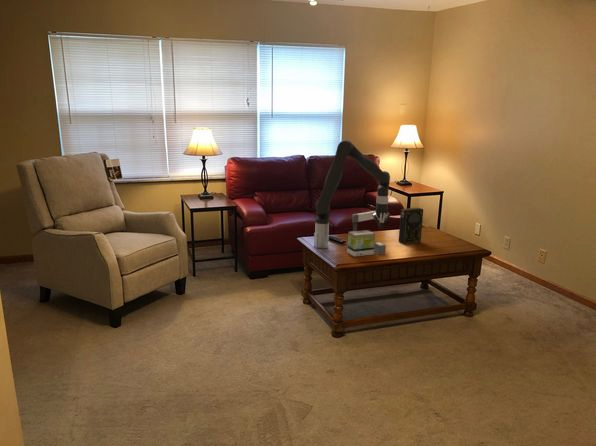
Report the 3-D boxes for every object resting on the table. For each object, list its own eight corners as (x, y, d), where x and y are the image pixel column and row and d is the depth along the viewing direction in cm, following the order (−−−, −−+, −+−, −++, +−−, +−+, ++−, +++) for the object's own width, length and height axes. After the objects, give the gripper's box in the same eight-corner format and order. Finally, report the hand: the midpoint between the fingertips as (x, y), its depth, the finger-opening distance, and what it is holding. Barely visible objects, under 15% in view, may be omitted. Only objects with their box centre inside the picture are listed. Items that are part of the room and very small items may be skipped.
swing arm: (377, 218, 322) (377, 211, 321) (355, 222, 310) (355, 215, 308) (372, 217, 325) (373, 210, 324) (351, 221, 313) (351, 214, 311)
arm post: (351, 250, 313) (352, 223, 309) (348, 247, 319) (349, 221, 314) (359, 249, 315) (361, 223, 310) (356, 247, 321) (357, 221, 316)
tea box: (354, 257, 299) (355, 235, 296) (346, 252, 308) (347, 231, 305) (374, 254, 305) (375, 233, 302) (366, 250, 314) (367, 229, 311)
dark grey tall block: (403, 245, 327) (406, 210, 320) (396, 241, 334) (399, 208, 328) (422, 243, 333) (424, 209, 326) (414, 239, 340) (417, 206, 334)
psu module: (378, 254, 305) (378, 245, 304) (373, 251, 313) (373, 242, 311) (385, 254, 307) (385, 245, 305) (379, 250, 314) (380, 241, 312)
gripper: (375, 204, 296) (373, 230, 300) (394, 203, 299) (392, 228, 304) (370, 201, 303) (368, 227, 307) (388, 200, 306) (386, 226, 311)
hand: (380, 228), depth 305 cm, fingers closed
